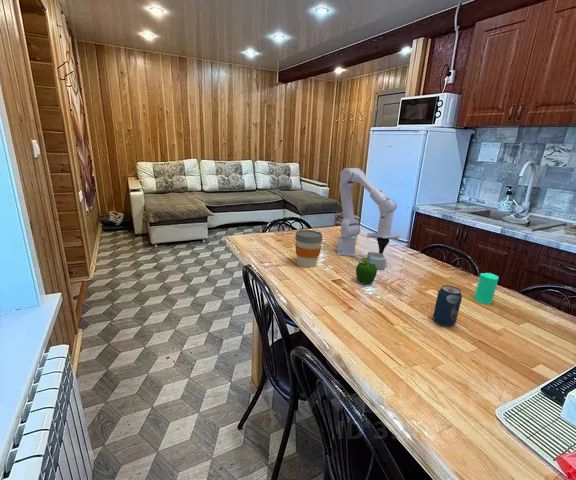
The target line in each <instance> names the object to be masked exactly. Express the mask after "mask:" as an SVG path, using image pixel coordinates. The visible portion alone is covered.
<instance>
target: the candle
mask: <svg viewBox="0 0 576 480" xmlns="http://www.w3.org/2000/svg"><path fill="white" fill-rule="evenodd" d="M498 282H499V276H498V275H496V274H494V273H491V271H490V272H484V273H482V272H480V275H479V280H478V283H477V286H476V291H475V294H474V300H475V301H476V302H477V303H480V304H483V305H492V304H493V299H494V296H495V292H496V289H497V285H498ZM491 303H492V304H491Z"/></svg>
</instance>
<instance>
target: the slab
mask: <svg viewBox="0 0 576 480" xmlns="http://www.w3.org/2000/svg"><path fill="white" fill-rule="evenodd" d="M366 258H367V261H368V262H369V263H371V264H375V265H376V267H378V268H384V269H386V267H387V266H386V265H387V258H386V257H385V255H384V253H383V254H380V253H379V252H373V251H368V252H367V256H366Z"/></svg>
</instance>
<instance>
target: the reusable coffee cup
mask: <svg viewBox="0 0 576 480" xmlns="http://www.w3.org/2000/svg"><path fill="white" fill-rule="evenodd" d="M294 239H295V244H294V245H295V254H296V261H297V263H296V264H297V266H300V267H302V268H306V269H307V268H308V269H310V268H314V267H316V266H317V264H318V263H317V262H318V259H319V256H320V255H321V250H322V242H323V233H322V232H320V231H317V230H311V229H301V230H298V231H296V232H295V238H294Z"/></svg>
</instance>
